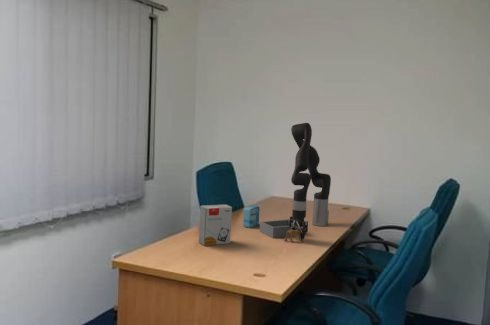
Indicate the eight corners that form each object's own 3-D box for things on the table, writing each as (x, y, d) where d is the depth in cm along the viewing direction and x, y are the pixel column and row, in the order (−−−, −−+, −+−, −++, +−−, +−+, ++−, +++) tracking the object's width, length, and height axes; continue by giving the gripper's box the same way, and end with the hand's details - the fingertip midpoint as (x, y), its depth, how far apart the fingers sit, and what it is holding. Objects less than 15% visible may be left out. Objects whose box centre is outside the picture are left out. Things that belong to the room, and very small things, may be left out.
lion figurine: (303, 238, 263) (304, 223, 262) (309, 241, 258) (310, 225, 257) (281, 241, 256) (282, 225, 255) (286, 243, 251) (287, 227, 250)
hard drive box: (203, 246, 240) (205, 208, 238) (198, 242, 247) (199, 205, 244) (230, 243, 247) (232, 206, 245) (224, 239, 254) (226, 203, 252)
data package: (249, 228, 280) (250, 209, 279) (242, 227, 283) (243, 208, 281) (258, 224, 291) (259, 206, 289) (252, 223, 293) (253, 205, 292)
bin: (288, 228, 284) (288, 219, 283) (302, 234, 271) (302, 224, 271) (259, 231, 274) (260, 221, 273) (272, 238, 261) (273, 227, 260)
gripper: (312, 210, 251) (310, 240, 253) (297, 205, 264) (295, 233, 265) (301, 211, 248) (299, 241, 249) (286, 206, 260) (284, 234, 262)
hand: (297, 237), depth 257 cm, fingers open, 8 cm apart
